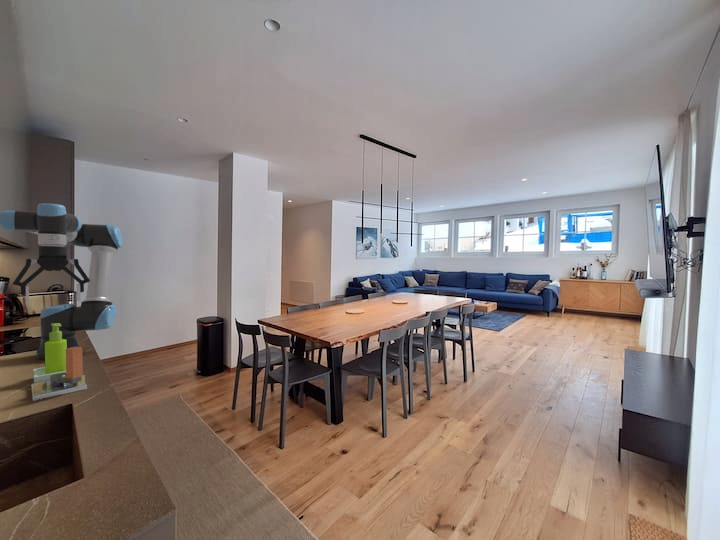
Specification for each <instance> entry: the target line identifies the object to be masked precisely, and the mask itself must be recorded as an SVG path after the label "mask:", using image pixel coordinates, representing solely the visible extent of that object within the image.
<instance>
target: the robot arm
mask: <svg viewBox="0 0 720 540" xmlns="http://www.w3.org/2000/svg"><path fill="white" fill-rule="evenodd" d="M0 226H1V227H2V228H3V229H4V230H6V231H14V232H15V231H19V232H20V231H21V232H28V233H29V234H34V235H37V240H38V241H37V243H38V245H40V246H38V249H37V250H38V258H37V259H33V258H32V259H30V258H26V260H25V265H24V266H23V268H22V269H21V271H20V272H19V273H18V275H17V276H16V278H15V279H14V281H13V283H12V284H13V285H14V286H18V287H20V295H21V296H25V306H29V305H30V287H29V285H28V284H29V283H30V282H31V281H33V280H34V279H35V278H36V277H38V276H39V275H40V274H41V273H42V272H43V271H46V272H51V271H54V272H55V271H56V272H61V271H64V272H65V273H66V274H67V275H68V276H70V277H71V278H72V279H74V280H75V281H76V282H78V283H77V284H76V301H77V302H81V304H80V306H77V305H76V304H75V303H74V302H73V303H65V304H57V305H51V306H47V307H44V308H42V309H41V310H40V316H39V321H40V343H38V348H37V350H36V352H35V358H36V360H45V342H48V341H50V340H49V333H50V332H52V325H51V324H53V323H60V324H61V325H62V326H61V327H59V331H62V339H64V340H67V349H68V348H72V347H82V346H81V344H80V342H79V339H78V337H77V332H84V331H100V330H101V331H102V330H107V329H110V328H111V327H112V326H113V325H114V323H115V320H116V318H117V317H116V316H117V307H116V306H115V305H114V304H113V301H112V300H110V291H111V282H112V280H111V279H112V271H113V262H114V254H116V253H118V249H121V248H123V245H124V239H123V235H122V232H121V230H120V228H119V227H118V226H117V225H112V224H111V225H110V224H92V223H91V224H90V223H82V220H81V219H80V218H79V217H78V216H76V215H74V214H72V213H67V208H66V206H65V205H62V204H58V203H48V202H47V203H46V202H44V203H43V202H42V203H38V205H37V210H36V211H32V210H31V211H30V210H28V211H27V210H15V209H12V210H2V211H1V212H0ZM68 245H70V246H75V247H81V248H88V249H87V250H88V251H90V252H91V255H90V257H91V258H90V264H89V271H88V275H87V274H86V273H85V271H84V270H83V268H82V266H80V264H79V259H78V258H73V259H68V249H67V246H68ZM36 263H37V264H38V265H39V266H40V267H39V268H38V269H37V270H36V271H34V272H33V273H31V274H30V275H29V276H28V277H27V278H26V279H25V280H23V281H22V282H21V280H22V279H23V278H24V276H25V274H27V272H28V270H29V269H30V268H31V266H33V265H35V264H36ZM68 264H71V265H73V266H74V267H75V268H76V270H77V271H78V273H79V274H80V275H81V277H82V279H81V278H80V277H79V276H78V275H76V274H75V273H74V272H73V271H71V270H70V269H69V268H68V267H67V265H68ZM85 284H87V288H86V289H87V290H86V296H85V299H84V300H82V301H81V293H84V292H85Z"/></svg>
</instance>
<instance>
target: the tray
mask: <svg viewBox="0 0 720 540" xmlns="http://www.w3.org/2000/svg"><path fill="white" fill-rule="evenodd" d="M32 370H33V371H32V373H33V374H32V375H33V384H35V383H40V382H45V381H50V376H51V375H54V374H58V373H66V371H62V372H57V373H51V374H46V371H45V366H43V367H38V368H33V369H32Z"/></svg>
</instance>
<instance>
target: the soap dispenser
mask: <svg viewBox="0 0 720 540" xmlns="http://www.w3.org/2000/svg"><path fill="white" fill-rule="evenodd" d="M51 325H52V332H50V333H49V340H50V341H48V342H45V359H44V360H45V363H44V367H45V371H46V374H51V373H57V372H62V371H66V349H67V340H64V339H62V331H59V327H61V326H62V325H61V324H60V323H53V324H51Z"/></svg>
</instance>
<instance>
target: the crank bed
mask: <svg viewBox="0 0 720 540" xmlns="http://www.w3.org/2000/svg"><path fill="white" fill-rule="evenodd" d="M81 377H82V381H79V382H77V383H74V384H69V383H66V384H63V385H59V386H50V381H45V382H40V383H35V384H34V383H31V395H32V398H31V399H32V402H36V401H39V399H40V400H43V398H45V399H49V398H53V397H56V396H61V395H65V394H71V393H74V392H79V391H83V390H87V389H88V385H87V382H86V374H83V376H81Z"/></svg>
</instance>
